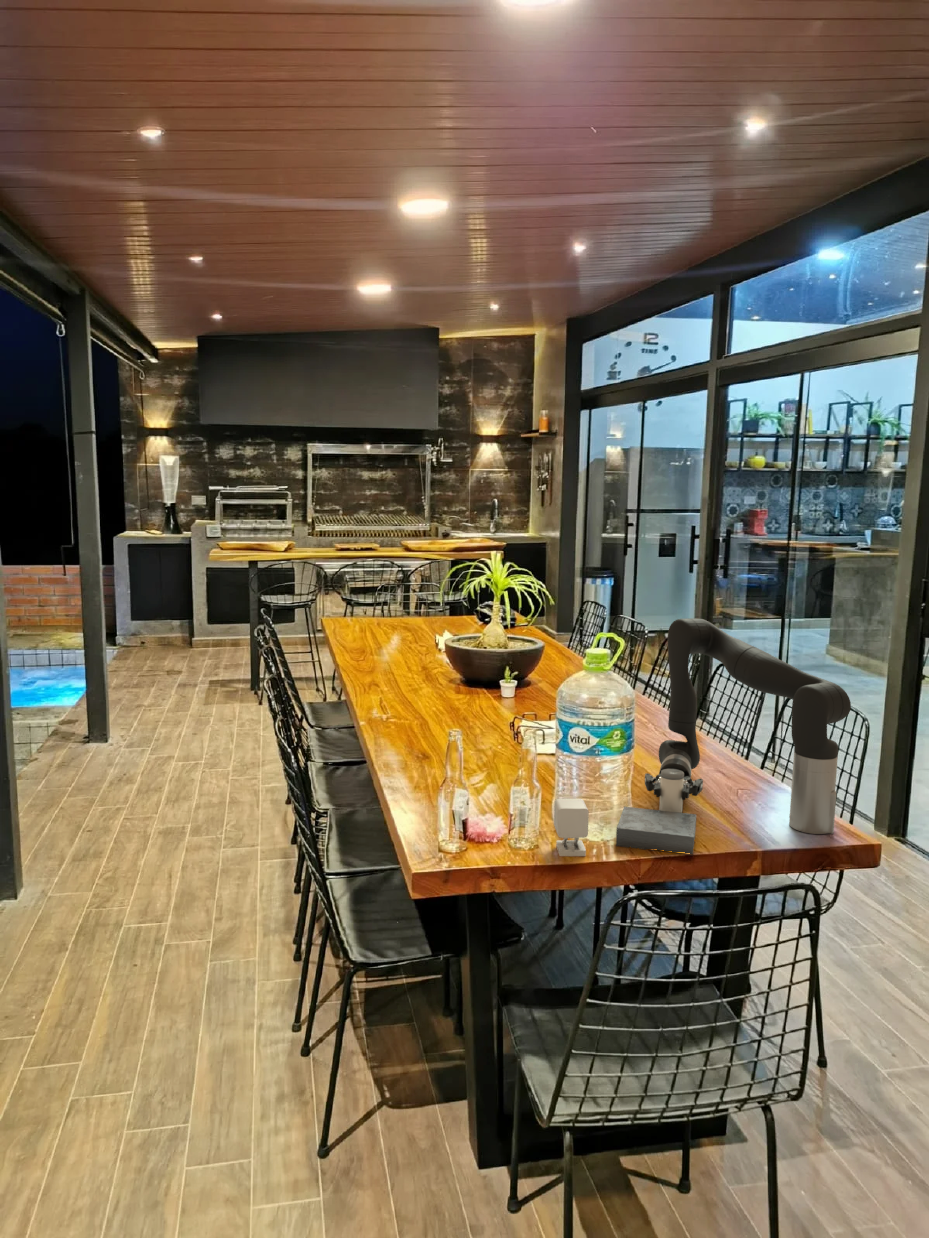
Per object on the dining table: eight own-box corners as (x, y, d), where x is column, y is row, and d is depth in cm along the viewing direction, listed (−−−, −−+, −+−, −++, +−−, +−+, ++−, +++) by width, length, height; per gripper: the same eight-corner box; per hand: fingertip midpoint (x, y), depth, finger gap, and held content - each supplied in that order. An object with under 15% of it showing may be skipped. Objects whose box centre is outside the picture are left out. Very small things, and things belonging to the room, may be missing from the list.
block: (695, 831, 207) (696, 814, 206) (692, 855, 193) (693, 836, 193) (623, 823, 211) (624, 806, 210) (616, 845, 198) (616, 827, 197)
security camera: (582, 843, 199) (584, 798, 197) (587, 856, 192) (589, 809, 191) (553, 843, 199) (554, 798, 197) (557, 856, 192) (559, 809, 190)
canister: (682, 815, 217) (684, 769, 215) (681, 822, 212) (683, 776, 210) (659, 812, 218) (661, 767, 216) (658, 820, 213) (660, 774, 211)
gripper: (646, 755, 229) (639, 775, 213) (706, 760, 225) (704, 781, 209) (645, 784, 230) (638, 806, 214) (704, 790, 226) (702, 813, 210)
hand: (671, 794), depth 211 cm, fingers closed on canister, 5 cm apart
